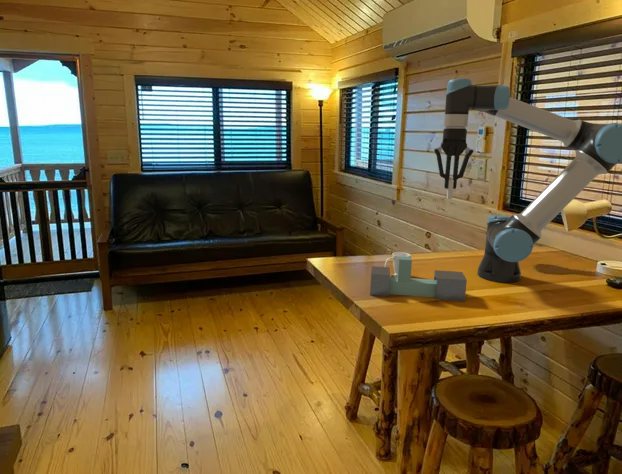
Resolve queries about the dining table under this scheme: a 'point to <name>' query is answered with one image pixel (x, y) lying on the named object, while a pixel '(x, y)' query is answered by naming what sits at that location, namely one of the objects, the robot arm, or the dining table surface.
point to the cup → (396, 260)
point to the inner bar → (410, 282)
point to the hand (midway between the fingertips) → (449, 198)
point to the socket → (380, 281)
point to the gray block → (450, 285)
